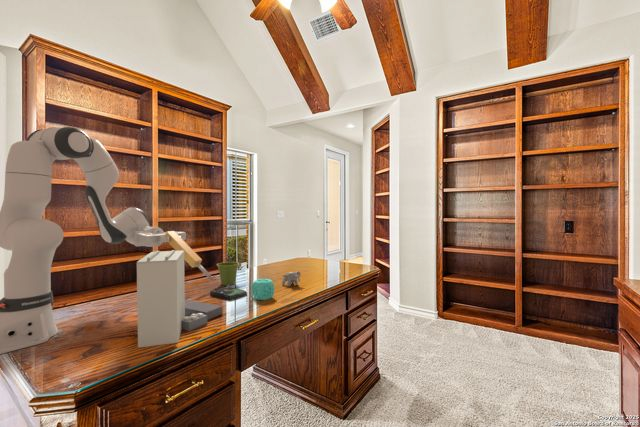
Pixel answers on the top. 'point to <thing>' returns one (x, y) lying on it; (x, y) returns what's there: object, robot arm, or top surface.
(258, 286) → the decorative dice
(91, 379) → the top surface
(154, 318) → the slotted cream upright block
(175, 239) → the long orange square stick
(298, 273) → the gray elephant figurine
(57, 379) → the top surface
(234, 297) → the disk drive
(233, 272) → the plant pot
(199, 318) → the switch box
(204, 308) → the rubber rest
